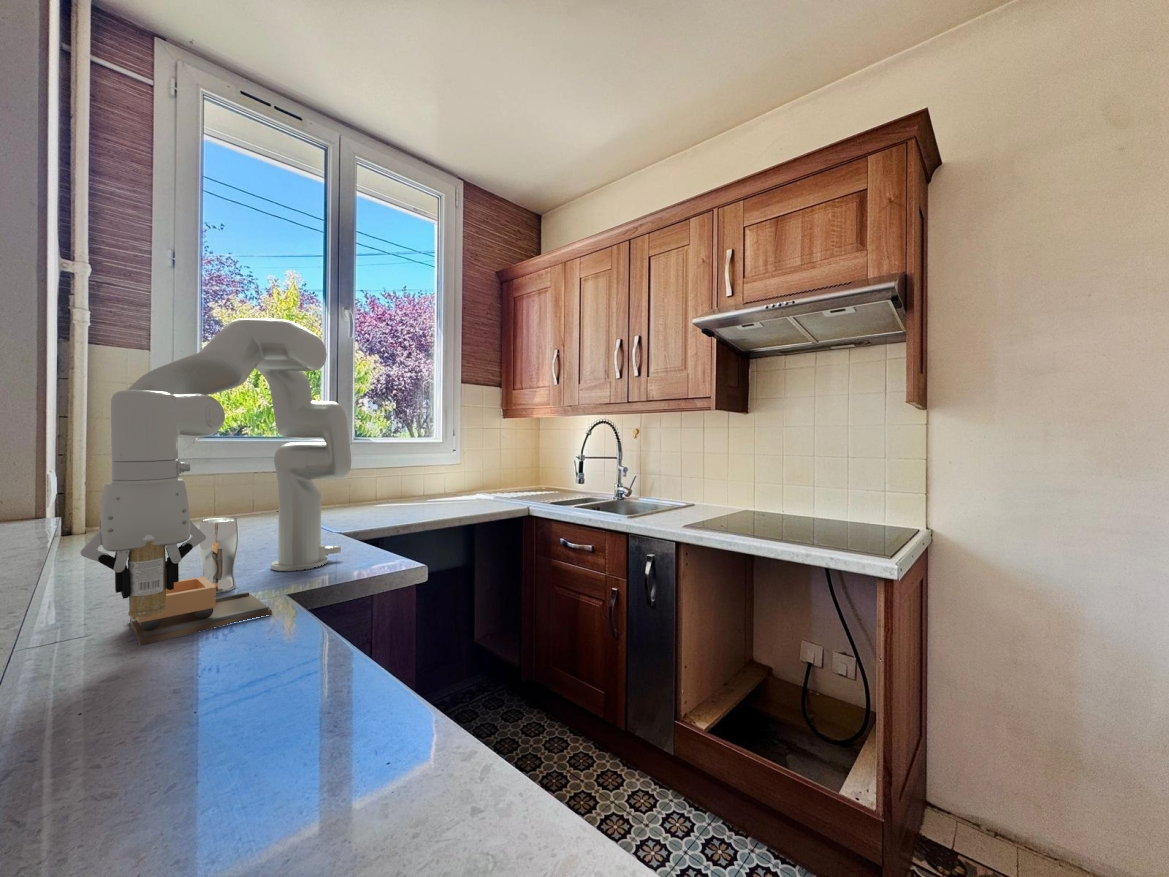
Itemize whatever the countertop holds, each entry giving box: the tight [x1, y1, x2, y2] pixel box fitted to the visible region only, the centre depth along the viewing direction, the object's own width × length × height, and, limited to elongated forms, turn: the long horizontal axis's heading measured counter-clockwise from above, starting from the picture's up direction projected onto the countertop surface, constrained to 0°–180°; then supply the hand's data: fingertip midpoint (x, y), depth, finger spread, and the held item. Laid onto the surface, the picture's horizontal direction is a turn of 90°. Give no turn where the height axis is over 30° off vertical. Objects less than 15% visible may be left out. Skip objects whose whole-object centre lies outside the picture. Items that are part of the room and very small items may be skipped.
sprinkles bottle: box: [127, 535, 168, 618], centre depth 75 cm, size 5×5×13 cm
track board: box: [129, 591, 273, 646], centre depth 88 cm, size 18×14×2 cm
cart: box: [136, 575, 217, 631], centre depth 85 cm, size 10×10×5 cm
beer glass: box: [197, 517, 240, 594], centre depth 106 cm, size 7×7×15 cm
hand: (147, 590), depth 75 cm, fingers closed on sprinkles bottle, 4 cm apart
